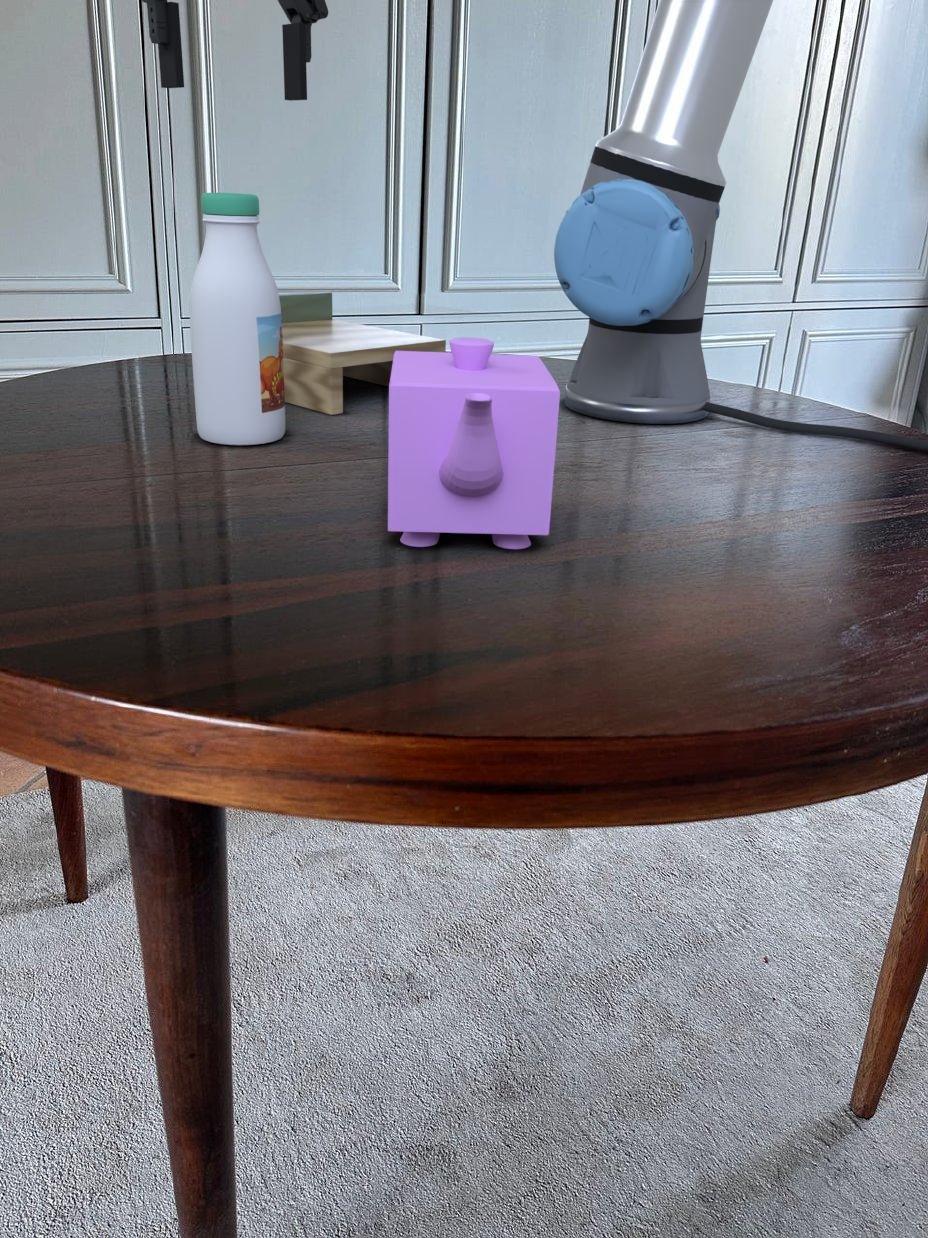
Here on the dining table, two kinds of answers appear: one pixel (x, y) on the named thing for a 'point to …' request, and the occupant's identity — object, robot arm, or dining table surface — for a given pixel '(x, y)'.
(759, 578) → the dining table surface
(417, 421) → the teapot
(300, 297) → the shelf
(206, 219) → the milk bottle
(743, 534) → the dining table surface
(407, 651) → the dining table surface
